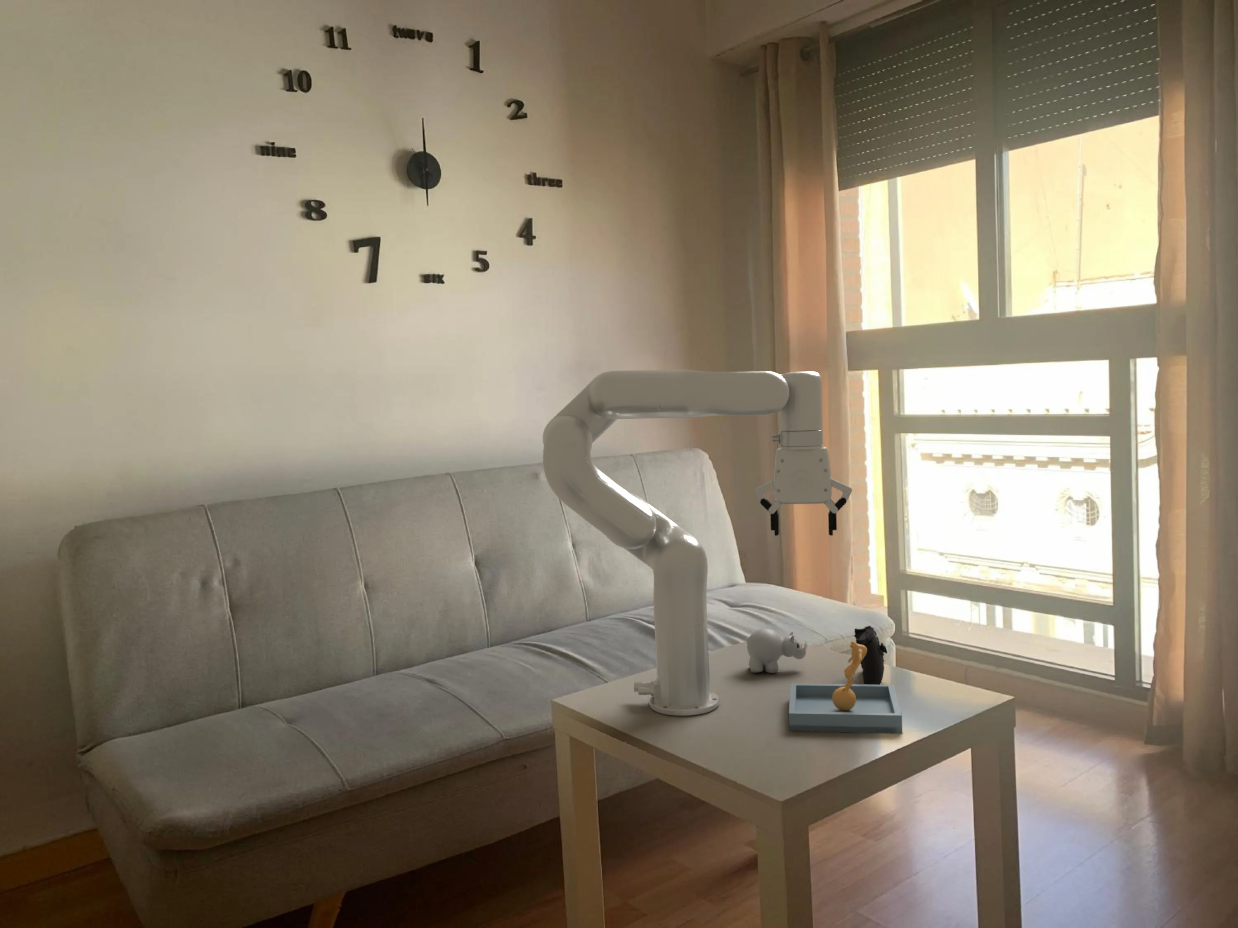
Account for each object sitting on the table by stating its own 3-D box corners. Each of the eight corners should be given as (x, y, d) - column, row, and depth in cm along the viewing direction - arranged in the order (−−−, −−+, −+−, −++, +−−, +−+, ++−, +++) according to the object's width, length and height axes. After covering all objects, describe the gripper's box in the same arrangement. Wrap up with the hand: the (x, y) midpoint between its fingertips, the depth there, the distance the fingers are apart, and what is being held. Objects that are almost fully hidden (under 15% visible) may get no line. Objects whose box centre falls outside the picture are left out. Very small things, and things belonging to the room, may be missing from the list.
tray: (789, 730, 160) (788, 713, 160) (791, 699, 176) (790, 683, 176) (902, 733, 157) (901, 715, 157) (893, 701, 173) (893, 684, 172)
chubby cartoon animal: (809, 675, 190) (808, 632, 189) (748, 676, 191) (746, 633, 191) (806, 664, 197) (805, 623, 196) (747, 665, 199) (745, 624, 198)
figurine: (831, 702, 171) (829, 635, 170) (866, 702, 170) (864, 634, 169) (833, 718, 163) (831, 647, 162) (870, 718, 162) (868, 647, 161)
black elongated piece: (891, 692, 177) (890, 639, 177) (857, 692, 179) (855, 639, 178) (886, 670, 191) (884, 620, 190) (854, 669, 192) (853, 620, 192)
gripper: (751, 442, 173) (754, 537, 174) (851, 440, 169) (853, 537, 171) (755, 440, 180) (757, 531, 182) (850, 438, 177) (852, 531, 178)
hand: (803, 534), depth 176 cm, fingers open, 9 cm apart
